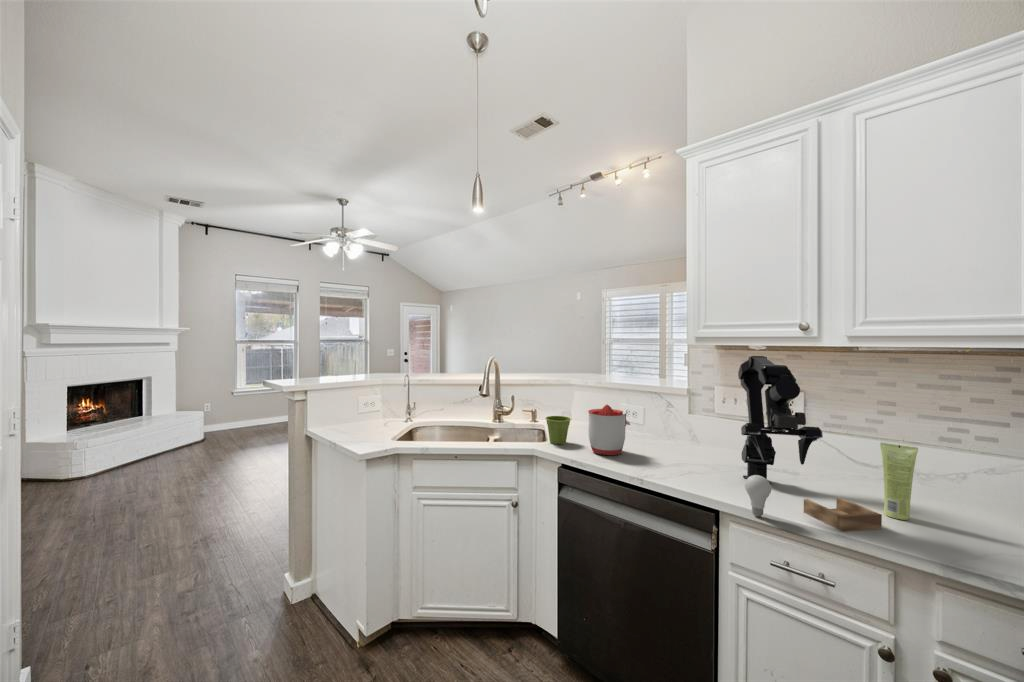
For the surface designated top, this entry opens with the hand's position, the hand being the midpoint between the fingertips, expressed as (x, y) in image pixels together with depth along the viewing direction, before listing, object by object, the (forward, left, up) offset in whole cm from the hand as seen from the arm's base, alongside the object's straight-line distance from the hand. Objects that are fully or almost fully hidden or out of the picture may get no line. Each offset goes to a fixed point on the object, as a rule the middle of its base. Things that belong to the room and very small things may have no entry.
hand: (783, 462), depth 116 cm
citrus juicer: (-56, -40, -14) cm, 70 cm away
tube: (0, +29, -14) cm, 32 cm away
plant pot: (-69, -60, -14) cm, 93 cm away
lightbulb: (+4, -9, -14) cm, 17 cm away
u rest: (+4, +12, -13) cm, 19 cm away
